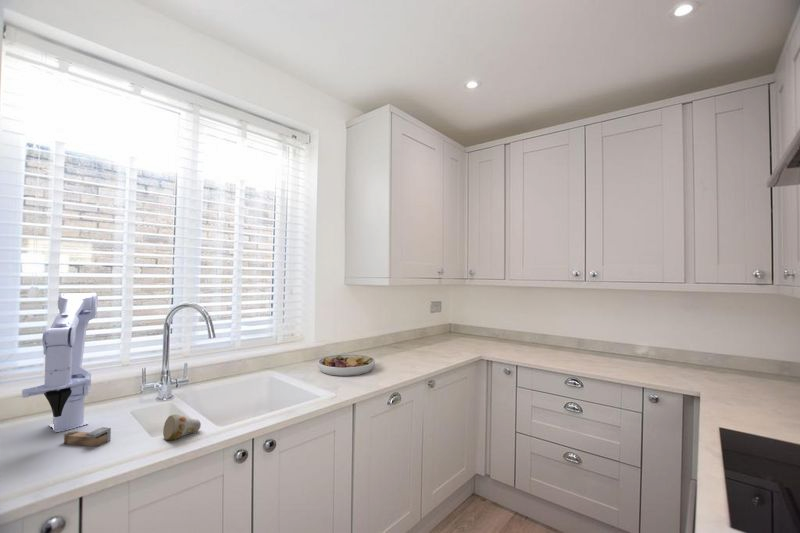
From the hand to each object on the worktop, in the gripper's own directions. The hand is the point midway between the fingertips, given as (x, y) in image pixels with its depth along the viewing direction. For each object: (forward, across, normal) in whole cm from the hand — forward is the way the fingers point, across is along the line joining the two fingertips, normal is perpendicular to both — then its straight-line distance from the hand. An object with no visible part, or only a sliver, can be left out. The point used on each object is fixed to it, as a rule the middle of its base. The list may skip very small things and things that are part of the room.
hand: (57, 416), depth 107 cm
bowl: (+9, +113, -7) cm, 114 cm away
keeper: (+8, +7, -9) cm, 14 cm away
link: (+8, +5, -5) cm, 11 cm away
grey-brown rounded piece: (+9, +25, -22) cm, 34 cm away
